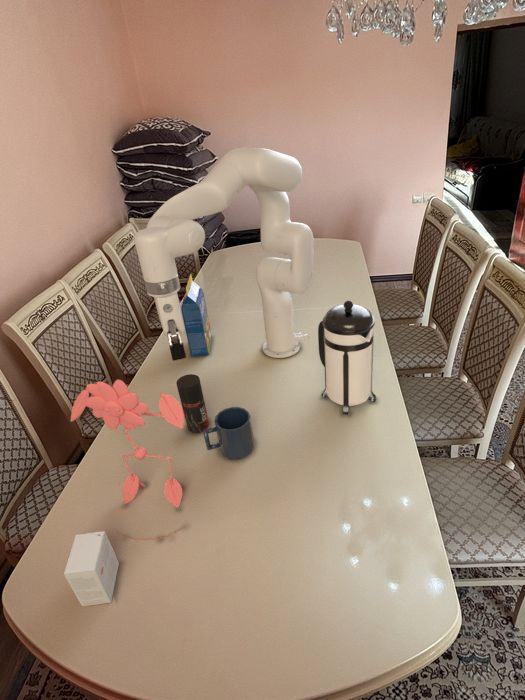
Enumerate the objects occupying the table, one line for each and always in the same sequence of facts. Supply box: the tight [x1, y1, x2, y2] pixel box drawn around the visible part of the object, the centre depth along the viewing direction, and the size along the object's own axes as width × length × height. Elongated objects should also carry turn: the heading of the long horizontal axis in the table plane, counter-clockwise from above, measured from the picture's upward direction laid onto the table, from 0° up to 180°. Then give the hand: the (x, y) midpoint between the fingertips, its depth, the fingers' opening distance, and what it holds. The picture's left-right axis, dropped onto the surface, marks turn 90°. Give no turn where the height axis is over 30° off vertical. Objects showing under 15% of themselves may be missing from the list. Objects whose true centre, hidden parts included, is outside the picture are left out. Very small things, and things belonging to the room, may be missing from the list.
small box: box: [63, 530, 120, 607], centre depth 83 cm, size 8×6×10 cm
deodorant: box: [176, 373, 210, 434], centre depth 118 cm, size 6×6×15 cm
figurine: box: [70, 379, 186, 543], centre depth 90 cm, size 15×26×35 cm, turn 78°
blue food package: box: [180, 274, 213, 357], centre depth 151 cm, size 6×12×25 cm, turn 0°
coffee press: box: [317, 300, 377, 416], centre depth 118 cm, size 17×16×30 cm
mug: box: [202, 406, 255, 461], centre depth 111 cm, size 12×9×10 cm
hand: (177, 349), depth 110 cm, fingers open, 9 cm apart
